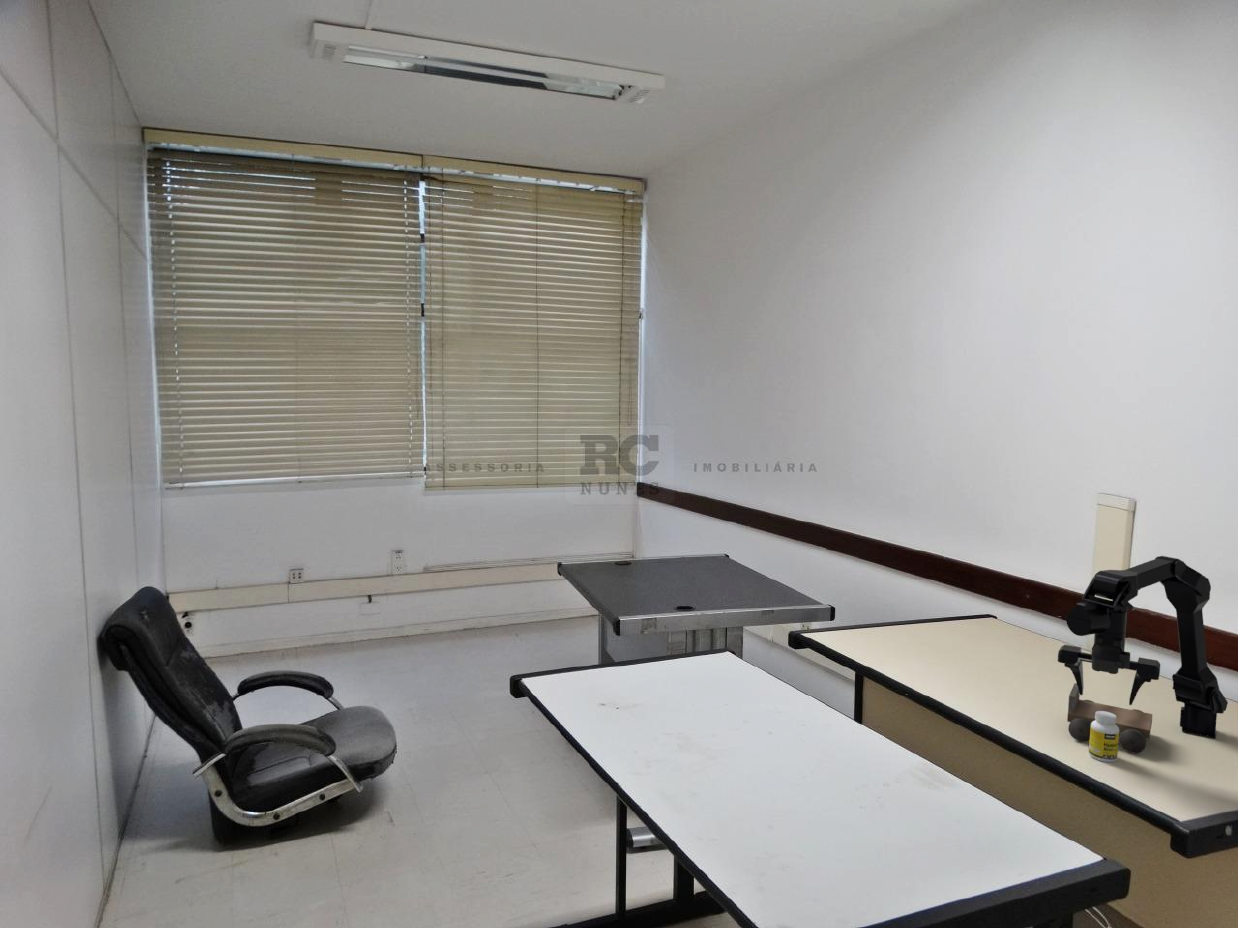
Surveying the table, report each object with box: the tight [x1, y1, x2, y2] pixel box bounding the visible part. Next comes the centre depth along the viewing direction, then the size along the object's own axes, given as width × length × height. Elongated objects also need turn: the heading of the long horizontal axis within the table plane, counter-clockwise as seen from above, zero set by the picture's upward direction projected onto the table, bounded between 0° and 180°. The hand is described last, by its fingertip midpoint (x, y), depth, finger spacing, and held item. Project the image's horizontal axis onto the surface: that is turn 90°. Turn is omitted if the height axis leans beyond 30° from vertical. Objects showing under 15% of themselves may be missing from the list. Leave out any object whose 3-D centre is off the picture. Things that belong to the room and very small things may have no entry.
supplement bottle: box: [1088, 711, 1120, 763], centre depth 176 cm, size 5×5×10 cm
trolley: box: [1066, 682, 1153, 754], centre depth 187 cm, size 16×15×9 cm
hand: (1105, 699), depth 176 cm, fingers open, 9 cm apart
